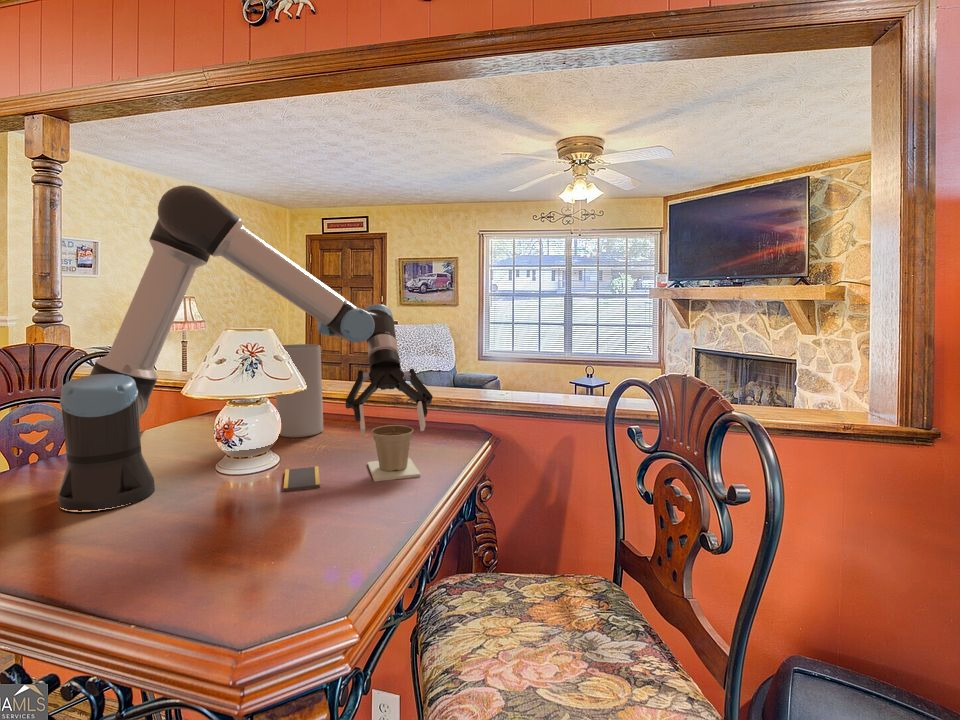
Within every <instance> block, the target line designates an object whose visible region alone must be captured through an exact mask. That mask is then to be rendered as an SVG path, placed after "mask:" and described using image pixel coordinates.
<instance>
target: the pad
mask: <svg viewBox="0 0 960 720" xmlns="http://www.w3.org/2000/svg"><path fill="white" fill-rule="evenodd" d="M367 467H368V469H369V472H370V474H371V477H372V480H373V482H382V481H391V480H402V479H410V478H419V477H421V472H420V470H418V468H417V466H416V465H415V463H414V462H413V460H412V459H411V457H408V462H407V467H406V468H405V469H402V470H393V471H385V470H382V469H381V468H380V467H379V461H378V460H374V461H367Z"/></svg>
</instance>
